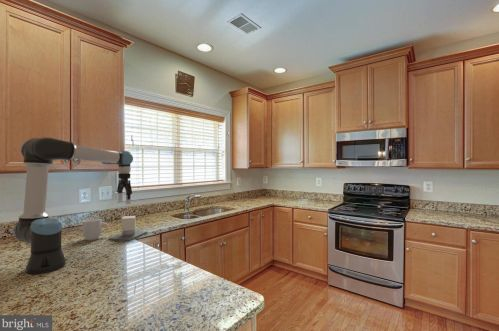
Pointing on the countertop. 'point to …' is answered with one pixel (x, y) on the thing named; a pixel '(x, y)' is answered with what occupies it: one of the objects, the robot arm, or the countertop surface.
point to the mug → (93, 228)
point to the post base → (125, 238)
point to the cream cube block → (128, 223)
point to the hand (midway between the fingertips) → (124, 203)
